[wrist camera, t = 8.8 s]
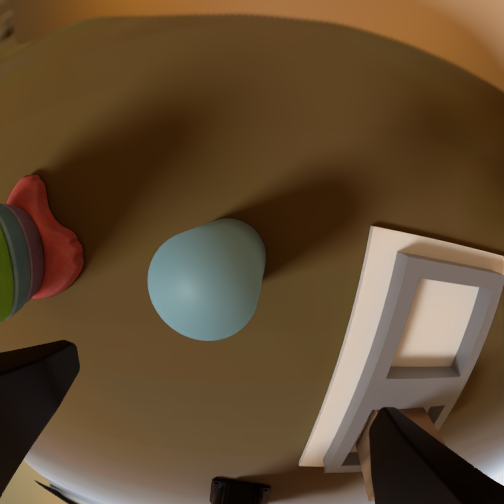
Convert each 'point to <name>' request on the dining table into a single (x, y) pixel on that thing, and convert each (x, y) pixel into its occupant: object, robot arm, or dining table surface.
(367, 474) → the walnut block
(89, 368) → the dining table surface
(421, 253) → the tray
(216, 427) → the dining table surface
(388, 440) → the robot arm
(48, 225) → the stacking bear
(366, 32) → the dining table surface
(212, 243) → the teal cylinder
